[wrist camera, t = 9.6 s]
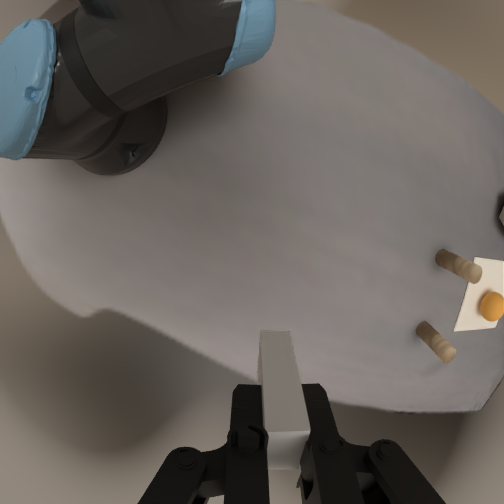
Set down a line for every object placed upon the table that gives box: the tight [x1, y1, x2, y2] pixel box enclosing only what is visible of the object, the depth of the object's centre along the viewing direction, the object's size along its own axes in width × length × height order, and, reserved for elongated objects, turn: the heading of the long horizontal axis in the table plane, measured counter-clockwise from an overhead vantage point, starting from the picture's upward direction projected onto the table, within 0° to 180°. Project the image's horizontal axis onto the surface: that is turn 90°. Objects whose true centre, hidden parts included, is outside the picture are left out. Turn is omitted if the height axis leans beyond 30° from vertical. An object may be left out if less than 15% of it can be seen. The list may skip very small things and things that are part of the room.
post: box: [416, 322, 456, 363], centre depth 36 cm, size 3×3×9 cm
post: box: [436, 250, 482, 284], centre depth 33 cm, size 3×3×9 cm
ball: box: [480, 292, 504, 322], centre depth 37 cm, size 6×6×6 cm
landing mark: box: [453, 257, 504, 331], centre depth 39 cm, size 14×14×1 cm
